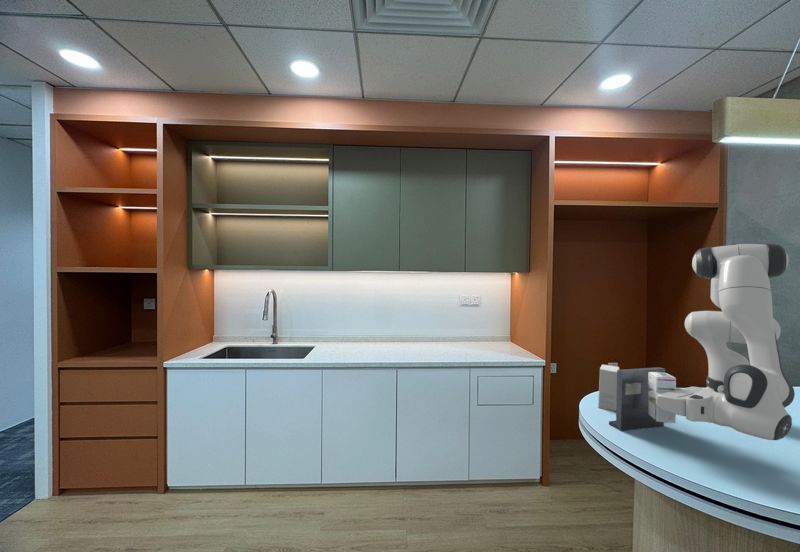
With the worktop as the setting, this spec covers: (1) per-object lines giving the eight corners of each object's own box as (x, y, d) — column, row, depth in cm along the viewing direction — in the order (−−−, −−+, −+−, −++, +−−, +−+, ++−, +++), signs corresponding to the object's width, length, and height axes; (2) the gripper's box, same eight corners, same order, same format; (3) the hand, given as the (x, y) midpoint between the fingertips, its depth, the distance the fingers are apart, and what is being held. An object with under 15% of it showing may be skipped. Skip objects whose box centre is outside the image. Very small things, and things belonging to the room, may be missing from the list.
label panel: (650, 420, 129) (651, 364, 128) (664, 426, 124) (666, 368, 123) (608, 424, 125) (610, 367, 124) (621, 431, 119) (622, 371, 119)
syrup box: (676, 423, 112) (677, 377, 112) (655, 421, 113) (656, 376, 113) (666, 416, 118) (667, 372, 118) (646, 414, 119) (647, 371, 119)
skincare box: (600, 401, 147) (601, 363, 147) (619, 405, 143) (620, 366, 143) (597, 408, 140) (598, 368, 140) (617, 412, 136) (618, 371, 136)
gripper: (729, 390, 108) (678, 377, 120) (689, 400, 100) (638, 385, 112) (729, 410, 108) (678, 395, 121) (688, 422, 100) (638, 405, 112)
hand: (658, 390), depth 116 cm, fingers closed on syrup box, 8 cm apart
